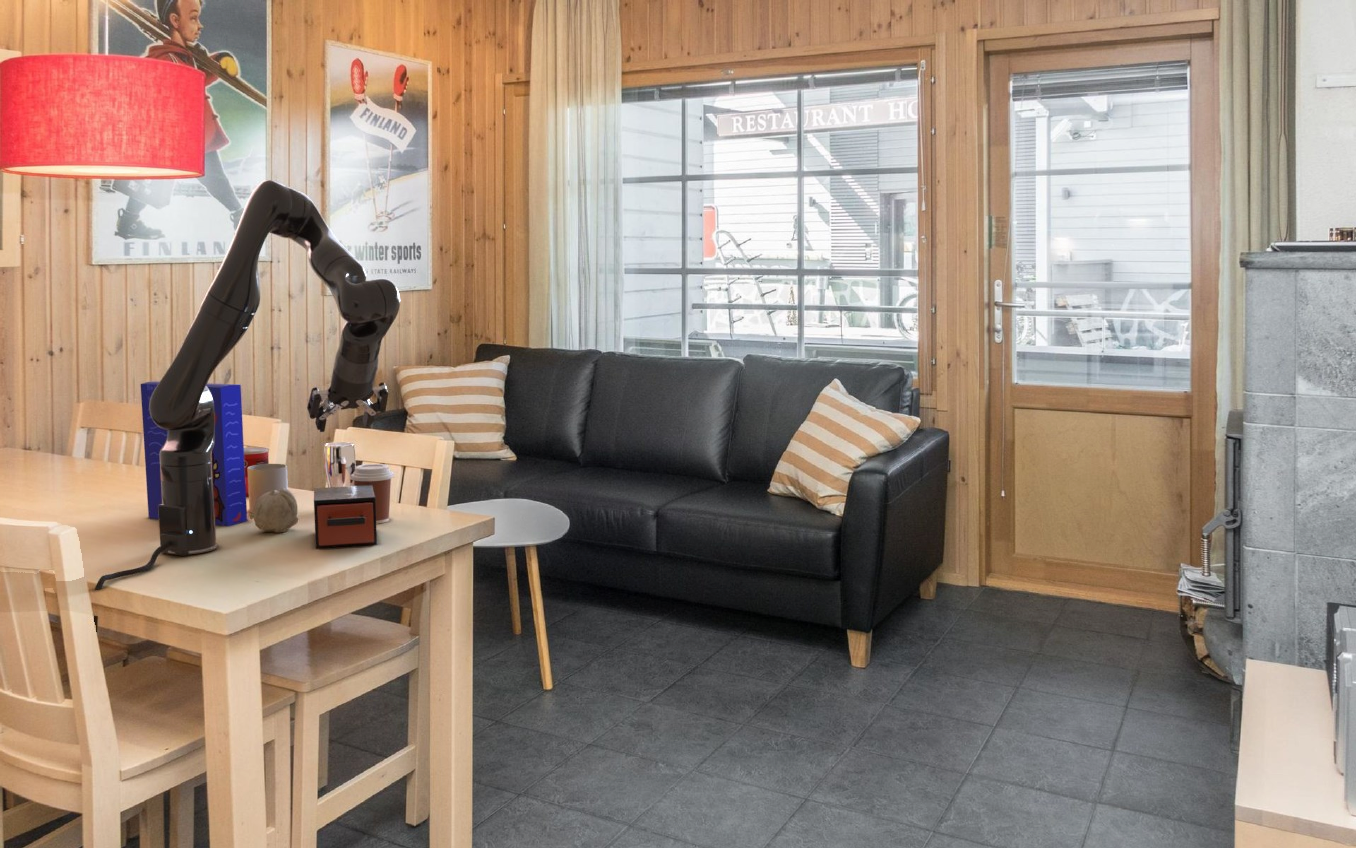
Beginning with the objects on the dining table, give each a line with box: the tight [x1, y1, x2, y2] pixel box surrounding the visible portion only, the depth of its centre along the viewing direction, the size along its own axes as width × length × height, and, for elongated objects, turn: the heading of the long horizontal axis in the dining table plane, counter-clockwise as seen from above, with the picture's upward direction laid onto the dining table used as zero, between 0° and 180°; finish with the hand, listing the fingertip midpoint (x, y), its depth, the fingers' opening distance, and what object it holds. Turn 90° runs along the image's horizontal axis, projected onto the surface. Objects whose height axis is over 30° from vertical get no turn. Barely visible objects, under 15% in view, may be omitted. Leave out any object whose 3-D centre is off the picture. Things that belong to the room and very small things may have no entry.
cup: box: [247, 463, 289, 514], centre depth 257 cm, size 8×8×10 cm
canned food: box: [244, 446, 270, 497], centre depth 276 cm, size 8×8×11 cm
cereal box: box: [140, 380, 248, 527], centre depth 246 cm, size 22×6×30 cm, turn 70°
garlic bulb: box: [247, 488, 299, 534], centre depth 236 cm, size 9×8×10 cm
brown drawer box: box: [317, 501, 374, 546], centre depth 225 cm, size 17×10×8 cm, turn 18°
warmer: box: [313, 485, 378, 550], centre depth 229 cm, size 14×12×10 cm
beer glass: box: [323, 441, 357, 487], centre depth 258 cm, size 7×7×15 cm
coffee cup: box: [351, 463, 395, 525], centre depth 246 cm, size 9×9×12 cm
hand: (343, 426), depth 217 cm, fingers open, 8 cm apart
